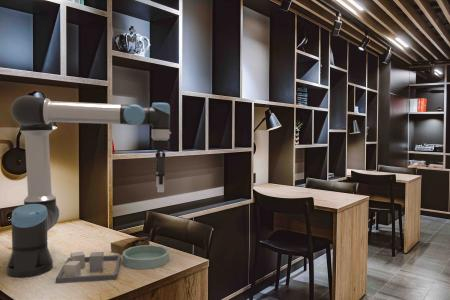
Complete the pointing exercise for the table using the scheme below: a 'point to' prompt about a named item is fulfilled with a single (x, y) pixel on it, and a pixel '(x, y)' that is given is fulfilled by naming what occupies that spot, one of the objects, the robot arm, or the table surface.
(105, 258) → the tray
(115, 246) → the stone
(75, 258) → the pale grey block
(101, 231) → the table surface
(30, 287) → the table surface
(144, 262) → the bowl
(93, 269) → the grey square pillar
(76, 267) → the light grey block
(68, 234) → the table surface
